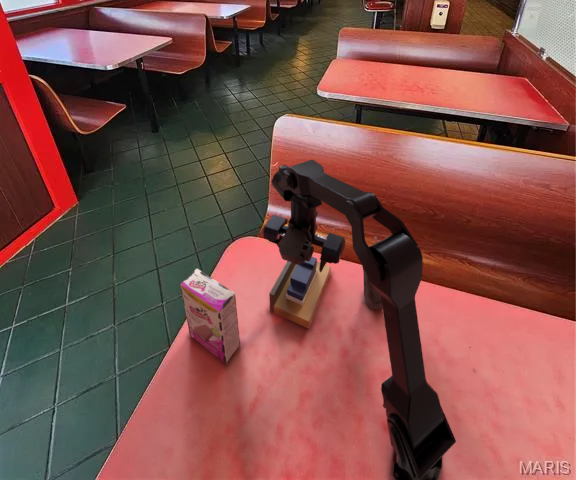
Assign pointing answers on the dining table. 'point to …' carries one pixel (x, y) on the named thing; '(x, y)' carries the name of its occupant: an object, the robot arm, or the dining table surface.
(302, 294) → the navy stepped block
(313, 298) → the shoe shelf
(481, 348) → the dining table surface
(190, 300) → the candy bar box
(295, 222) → the robot arm
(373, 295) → the beverage cup
